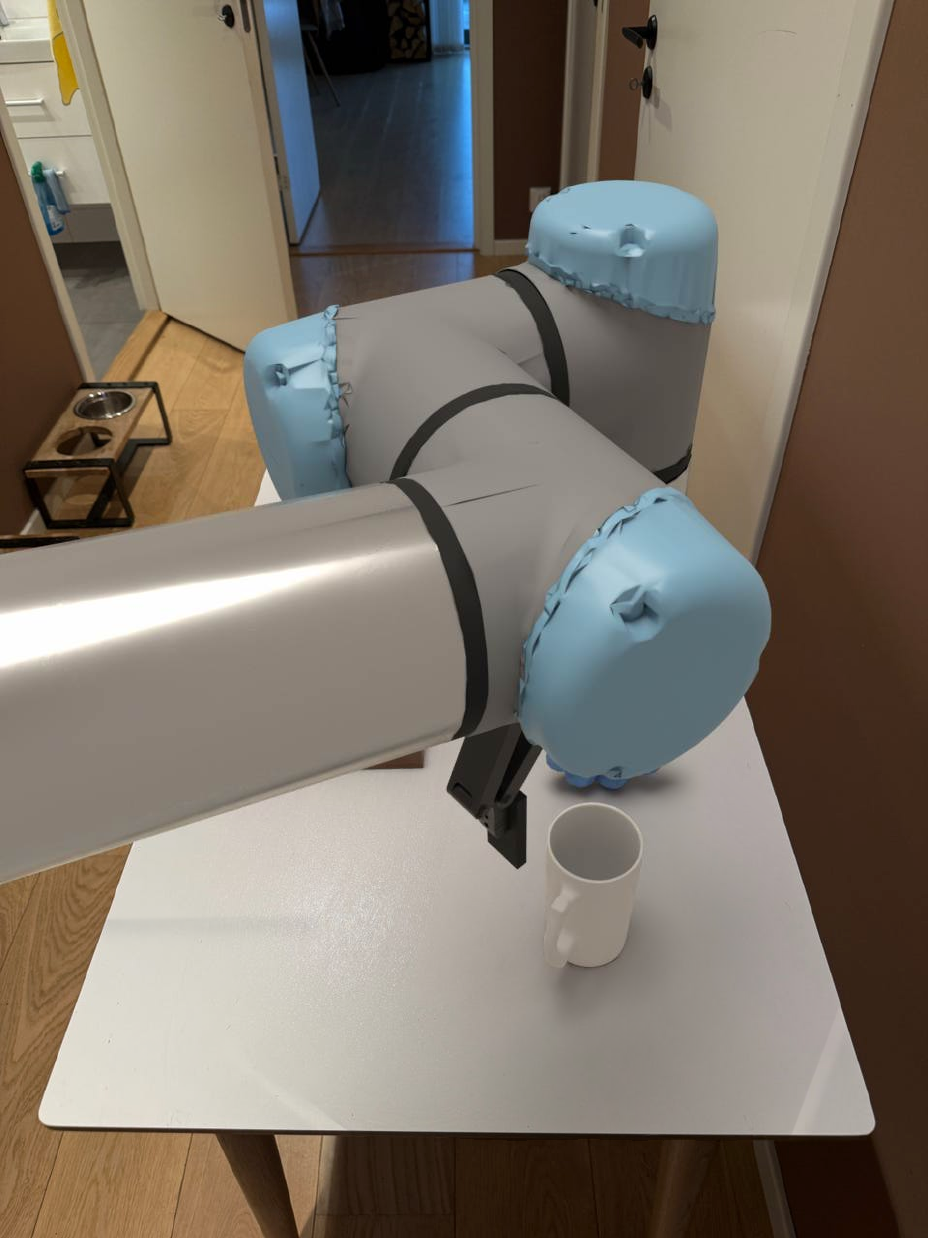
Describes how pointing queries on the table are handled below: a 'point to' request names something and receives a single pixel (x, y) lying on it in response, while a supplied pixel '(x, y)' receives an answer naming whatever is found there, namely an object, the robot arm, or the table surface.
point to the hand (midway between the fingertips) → (584, 792)
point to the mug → (590, 883)
